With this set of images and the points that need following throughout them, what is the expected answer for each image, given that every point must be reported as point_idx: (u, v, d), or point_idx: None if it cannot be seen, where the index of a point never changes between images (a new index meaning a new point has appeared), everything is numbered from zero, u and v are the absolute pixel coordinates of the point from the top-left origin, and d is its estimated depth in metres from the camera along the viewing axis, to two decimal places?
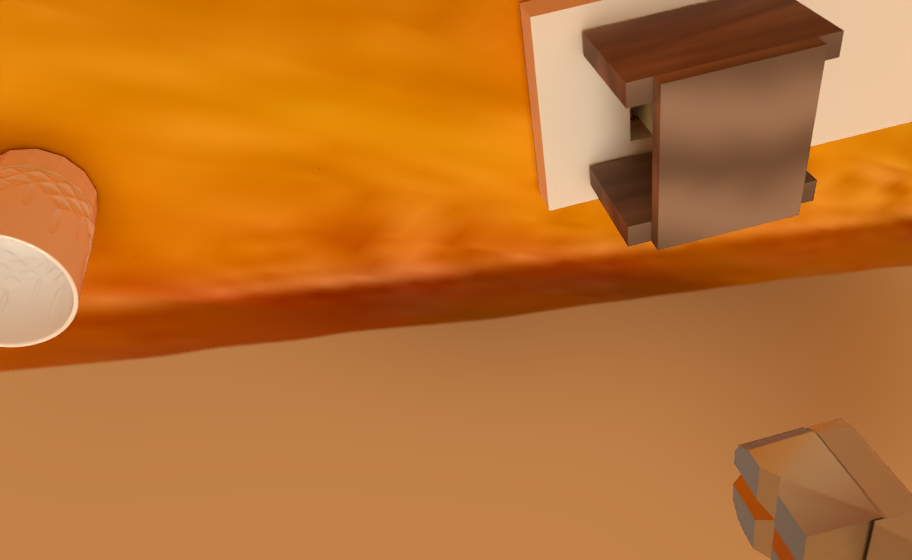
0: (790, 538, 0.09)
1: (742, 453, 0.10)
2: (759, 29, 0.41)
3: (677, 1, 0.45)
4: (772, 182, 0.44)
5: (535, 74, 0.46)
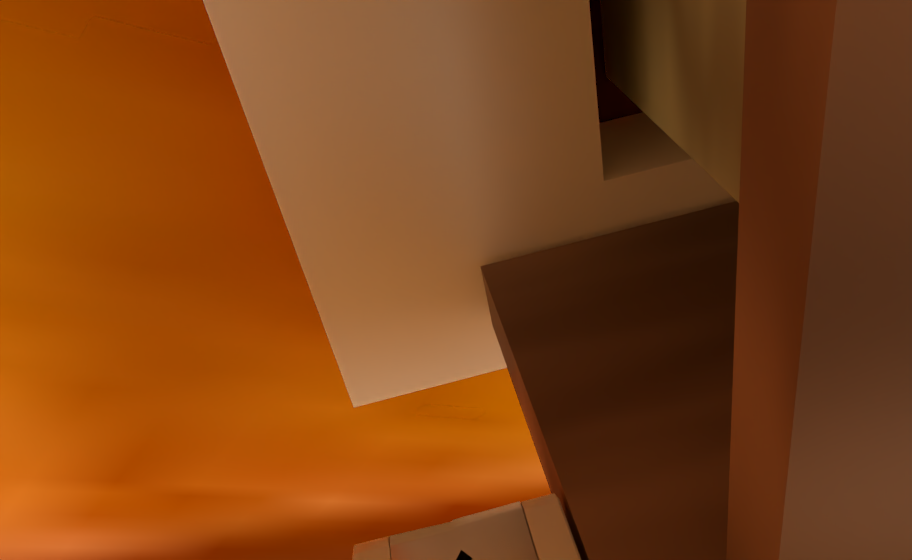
0: None
1: None
2: None
3: None
4: None
5: None
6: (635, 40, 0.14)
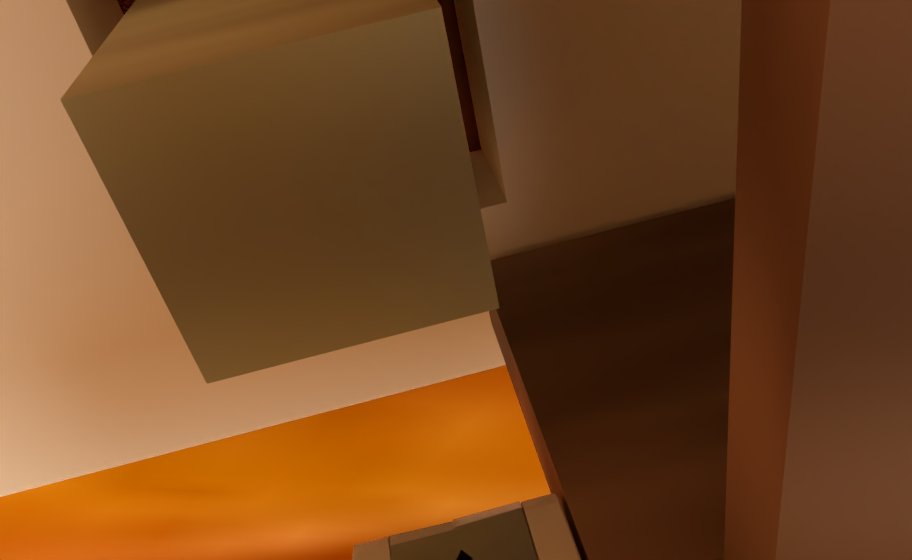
0: None
1: None
2: None
3: None
4: None
5: None
6: None
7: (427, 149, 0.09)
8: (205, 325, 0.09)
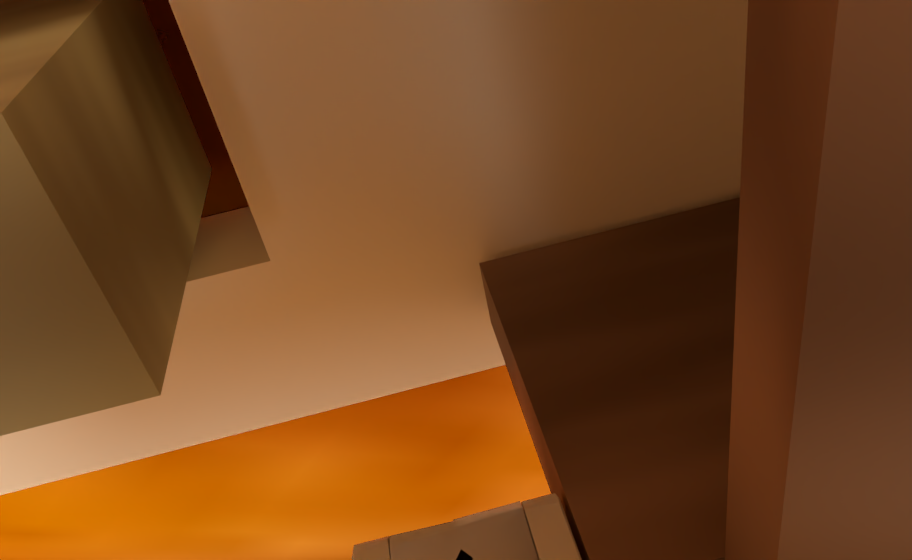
0: None
1: None
2: None
3: None
4: None
5: None
6: None
7: (29, 247, 0.08)
8: None
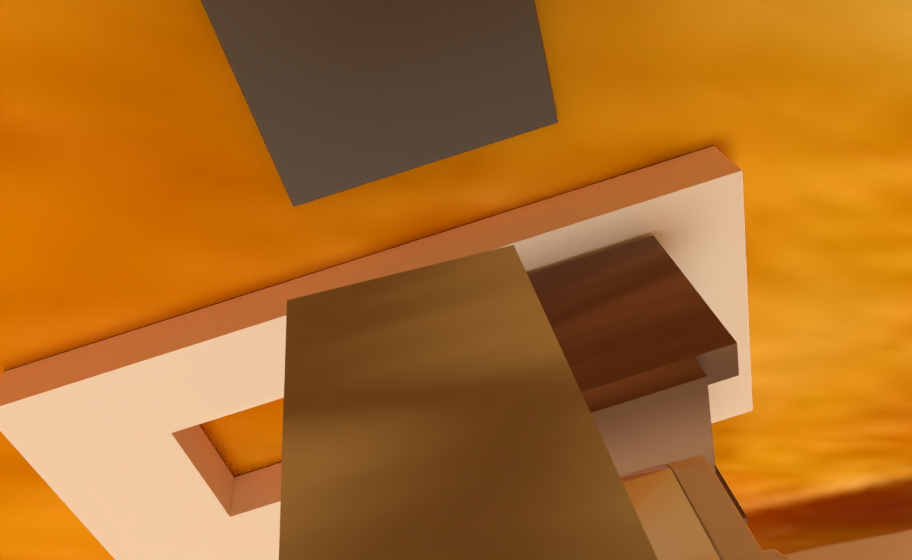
0: None
1: None
2: (612, 332, 0.27)
3: (207, 364, 0.31)
4: None
5: (36, 467, 0.32)
6: None
7: None
8: None
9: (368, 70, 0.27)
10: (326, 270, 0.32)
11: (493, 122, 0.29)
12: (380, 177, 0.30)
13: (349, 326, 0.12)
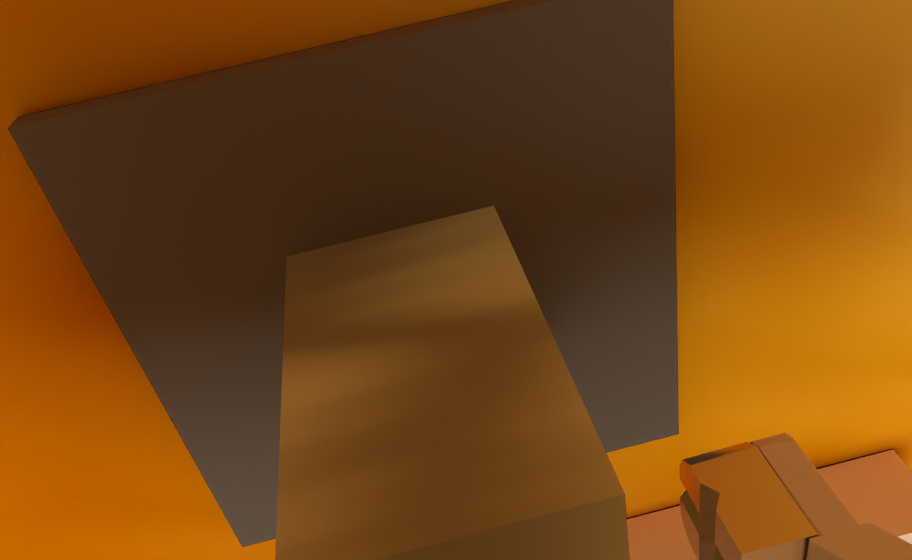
0: (728, 554, 0.09)
1: (686, 468, 0.10)
2: None
3: None
4: None
5: None
6: None
7: None
8: None
9: None
10: None
11: None
12: None
13: (343, 276, 0.13)
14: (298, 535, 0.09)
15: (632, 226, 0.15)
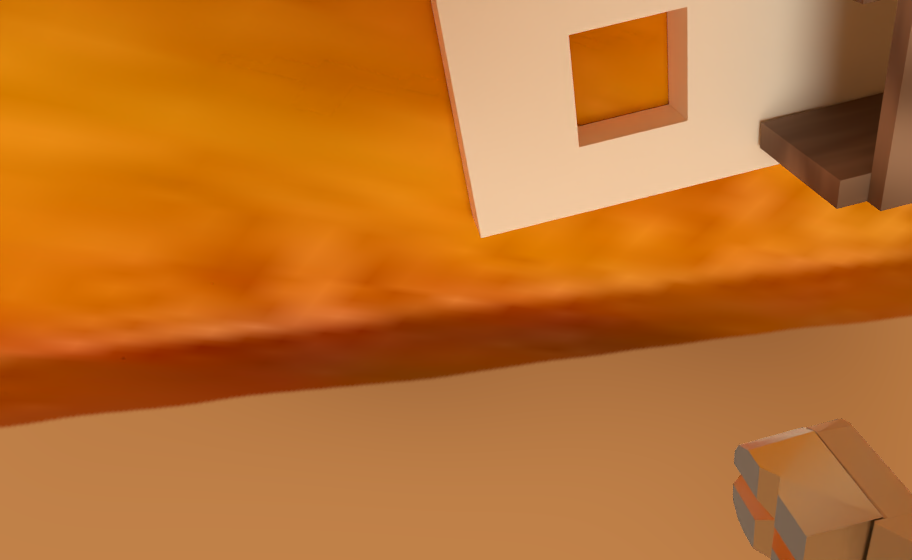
0: (790, 538, 0.09)
1: (742, 453, 0.10)
2: None
3: None
4: None
5: (446, 56, 0.36)
6: None
7: None
8: None
9: None
10: None
11: None
12: None
13: None
14: None
15: None
